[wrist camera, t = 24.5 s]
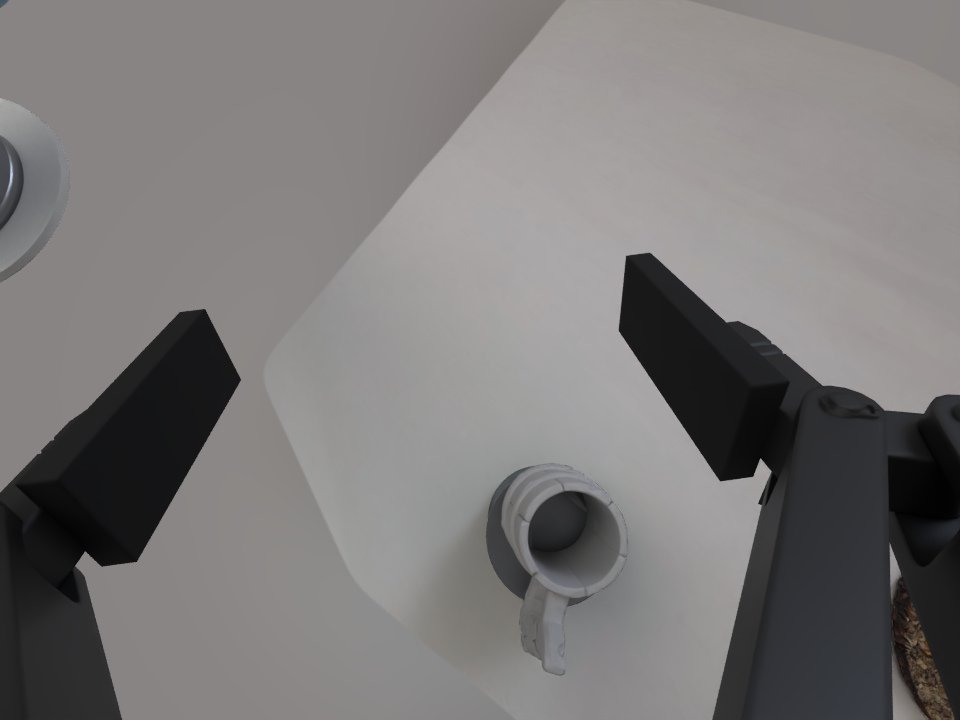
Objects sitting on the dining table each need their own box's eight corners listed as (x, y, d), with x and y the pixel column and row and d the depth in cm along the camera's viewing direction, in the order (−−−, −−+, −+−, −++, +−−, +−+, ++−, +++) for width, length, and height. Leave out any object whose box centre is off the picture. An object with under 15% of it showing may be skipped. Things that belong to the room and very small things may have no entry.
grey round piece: (464, 506, 42) (460, 520, 35) (551, 442, 43) (564, 442, 36) (529, 602, 41) (539, 637, 34) (618, 533, 42) (646, 552, 35)
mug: (607, 476, 36) (668, 495, 24) (572, 632, 34) (621, 735, 22) (514, 450, 36) (530, 455, 24) (475, 602, 34) (471, 688, 22)
